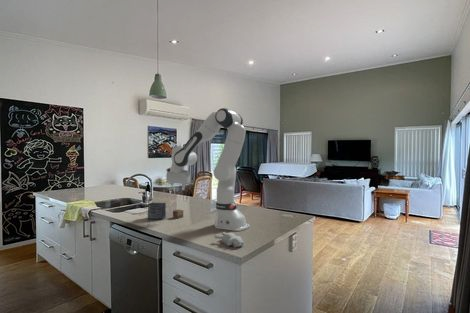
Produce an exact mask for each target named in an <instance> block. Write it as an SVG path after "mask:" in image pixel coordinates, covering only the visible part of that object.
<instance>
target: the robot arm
mask: <svg viewBox="0 0 470 313" xmlns="http://www.w3.org/2000/svg"><path fill="white" fill-rule="evenodd" d="M243 122H244V119H243V117H242V115H240V114H239V113H237V112H235V111H234V110H231V109H229V108H225V107H224V108H223V107H222V108H219V109H218V110H217V111H213V112H211V113H210V114H209V115H208V116H207V118H205V120H204V121H203V122H202V123H201V125H200V127H199V128H198V129H197V130H196V131H195V133H193V134H192V136H190V137H189V139H188V140H187V141H186V143H185V144H184V145H179V146H178V145H177V146H174V147H173V148H172V150H171V166H170V167H169V168H166V174H165V175H166V176H165V180H166V182H167V183H169V184H170V186H171V189H172V190H175V189H176V186H175V184H181V185H182V186H181V187H180V190H181V191H185V188H186V185H189V184H190V183H191V177H190V172H189V170H187V169H186V170H185V167H188V166H193V165H195V164H197V161H198V155H197V153H196V152H195V151H194V150H195V149H196V147H198V146H199V145H200V144H202V143H205V142H208V141H211V140H213V138H214V137H215V136H216V135H217V134H218V133H219V131H220V129H221V128H224V129H227V136H226V137H225V141H224V144H223V148H222V151H221V154H220V155H219V158H218V160H217V163H216V165H215V167H214V169H213V176H214V178H215V179H216V180H217V182H218V183H217V186H216V187H217V188H216V202H215V208H216V210H215V212H216V213H215V219H214V223H213V226H214V228H215V229H218V230H219V229H220V230H224V231H225V230H226V231H234V232H240V231H245V230H247V229H249V228H250V227H251V226H250V223H247V221H246V216H245V215H244V214H243V213H242V212H241V211H240V210H239V209H238V205H239V204H238V203H236V202H235V187H236V179H237V178H236V177H237V168H236V165H237V162H238V160H239V158H240V156H241V152H242V149H243V146H244V142H245V139H246V133H247V132H246V131H247V130H246V128H245V126H244V125H243V124H244V123H243Z"/></svg>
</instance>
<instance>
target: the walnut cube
mask: <svg viewBox="0 0 470 313" xmlns="http://www.w3.org/2000/svg"><path fill="white" fill-rule="evenodd" d="M172 218H173V219H178V220H179V219H181V218H184V210H183V209H175V210H172Z"/></svg>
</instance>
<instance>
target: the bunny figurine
mask: <svg viewBox="0 0 470 313" xmlns="http://www.w3.org/2000/svg"><path fill="white" fill-rule="evenodd" d="M214 239H219V240H221V241H222V243H223V244H224V245H226V246H228V247H229V246H232V247H233V248H235V249H236V248H239V247H241V246H243V245H244V244H245V241H244V240H243V239H242V237H241V235H240V236H239V235H236V234H235V233H233V232H228V233H227V232H225V231H222V232H221V235H220V234H214Z"/></svg>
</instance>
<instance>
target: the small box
mask: <svg viewBox="0 0 470 313" xmlns="http://www.w3.org/2000/svg"><path fill="white" fill-rule="evenodd" d="M166 204H167V203H166V202H150V203H148V204H147V220H156V221H157V220H159V221H160V220H161V221H163V220H164V219H166V218H167V217H166V216H167V215H166V212H167V211H166V210H167V209H166V207H167V206H166Z"/></svg>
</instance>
